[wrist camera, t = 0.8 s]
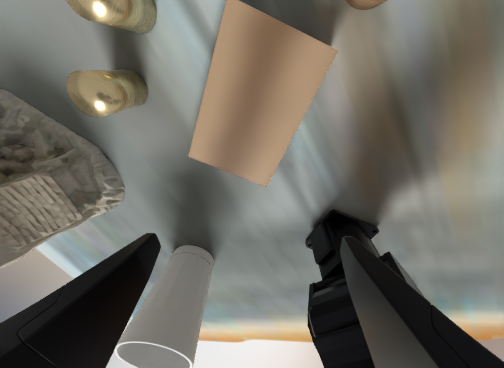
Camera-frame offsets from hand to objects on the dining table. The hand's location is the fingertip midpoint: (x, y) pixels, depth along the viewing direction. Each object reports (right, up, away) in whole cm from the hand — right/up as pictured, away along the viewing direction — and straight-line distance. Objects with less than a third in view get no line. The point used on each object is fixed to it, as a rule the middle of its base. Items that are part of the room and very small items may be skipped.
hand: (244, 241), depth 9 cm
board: (+1, +10, +9) cm, 14 cm away
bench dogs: (-10, +14, +7) cm, 18 cm away
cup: (-9, -9, +21) cm, 24 cm away
